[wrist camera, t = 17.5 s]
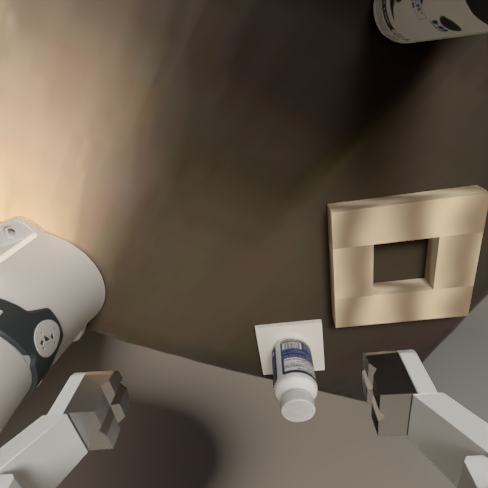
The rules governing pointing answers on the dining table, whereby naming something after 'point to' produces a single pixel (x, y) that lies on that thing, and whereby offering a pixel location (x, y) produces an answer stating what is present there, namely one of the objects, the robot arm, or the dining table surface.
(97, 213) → the dining table surface
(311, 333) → the pad
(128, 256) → the dining table surface
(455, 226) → the socket block
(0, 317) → the robot arm
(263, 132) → the dining table surface
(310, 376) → the pill bottle
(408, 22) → the spray can
